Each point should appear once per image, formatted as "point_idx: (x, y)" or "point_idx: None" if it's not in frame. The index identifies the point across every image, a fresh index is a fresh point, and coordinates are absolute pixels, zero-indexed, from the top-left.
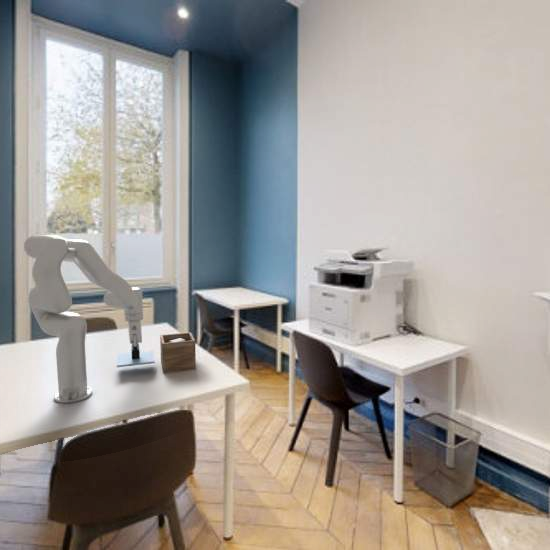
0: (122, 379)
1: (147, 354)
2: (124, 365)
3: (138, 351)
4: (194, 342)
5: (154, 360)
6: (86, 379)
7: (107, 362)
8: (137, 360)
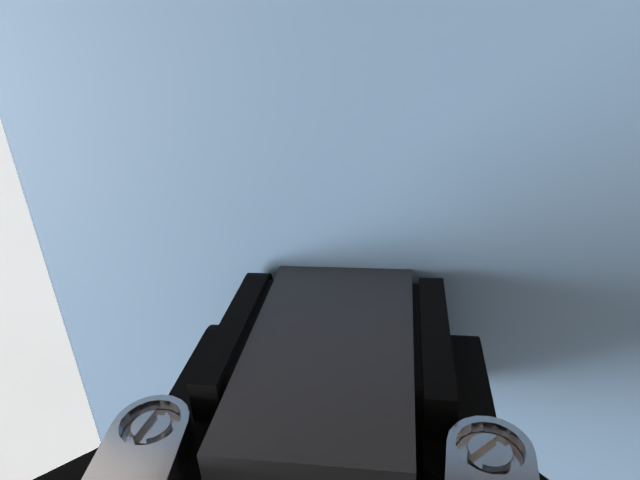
0: None
1: (218, 119)
2: (637, 471)
3: (450, 381)
4: None
5: None
6: None
7: (69, 460)
8: (524, 306)
